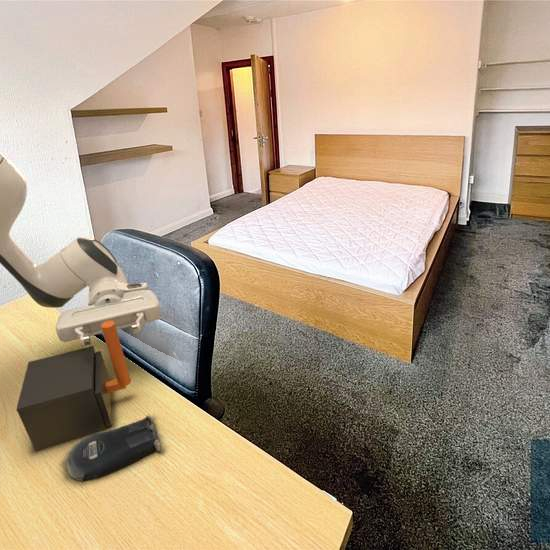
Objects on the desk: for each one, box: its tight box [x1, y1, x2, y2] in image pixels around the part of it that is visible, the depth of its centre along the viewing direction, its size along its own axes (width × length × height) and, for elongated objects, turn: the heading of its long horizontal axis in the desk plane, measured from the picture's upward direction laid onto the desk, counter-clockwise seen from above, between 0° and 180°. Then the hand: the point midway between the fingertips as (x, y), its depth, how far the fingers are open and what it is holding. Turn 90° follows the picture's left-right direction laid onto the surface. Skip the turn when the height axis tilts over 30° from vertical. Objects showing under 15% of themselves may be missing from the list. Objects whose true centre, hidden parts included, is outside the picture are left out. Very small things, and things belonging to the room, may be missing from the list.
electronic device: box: [65, 413, 161, 482], centre depth 72 cm, size 9×6×15 cm
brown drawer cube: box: [15, 345, 107, 452], centre depth 79 cm, size 12×14×11 cm
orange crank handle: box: [94, 321, 132, 428], centre depth 78 cm, size 16×14×18 cm
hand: (111, 335), depth 79 cm, fingers open, 8 cm apart
